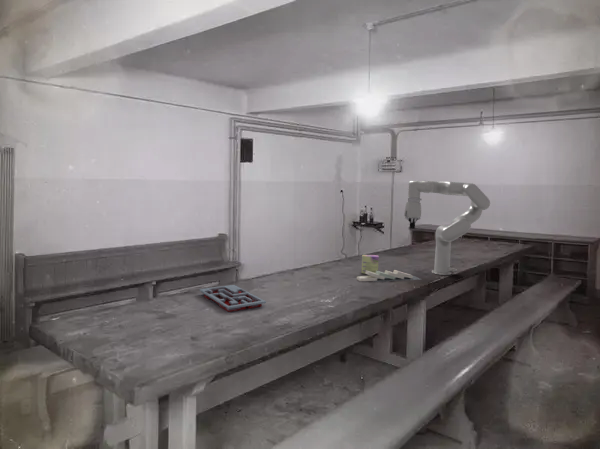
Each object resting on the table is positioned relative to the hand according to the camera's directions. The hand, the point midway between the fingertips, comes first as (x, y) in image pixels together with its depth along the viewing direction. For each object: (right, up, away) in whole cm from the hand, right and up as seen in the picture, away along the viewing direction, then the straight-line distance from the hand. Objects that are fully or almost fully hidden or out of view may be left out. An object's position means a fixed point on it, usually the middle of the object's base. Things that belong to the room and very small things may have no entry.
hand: (412, 228), depth 300 cm
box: (-28, -29, -3) cm, 41 cm away
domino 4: (-10, -30, -17) cm, 36 cm away
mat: (-15, -31, -18) cm, 39 cm away
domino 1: (-28, -30, -22) cm, 46 cm away
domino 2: (-23, -30, -20) cm, 42 cm away
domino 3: (-16, -30, -18) cm, 38 cm away
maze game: (-107, -36, -70) cm, 133 cm away
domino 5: (-5, -30, -15) cm, 33 cm away
